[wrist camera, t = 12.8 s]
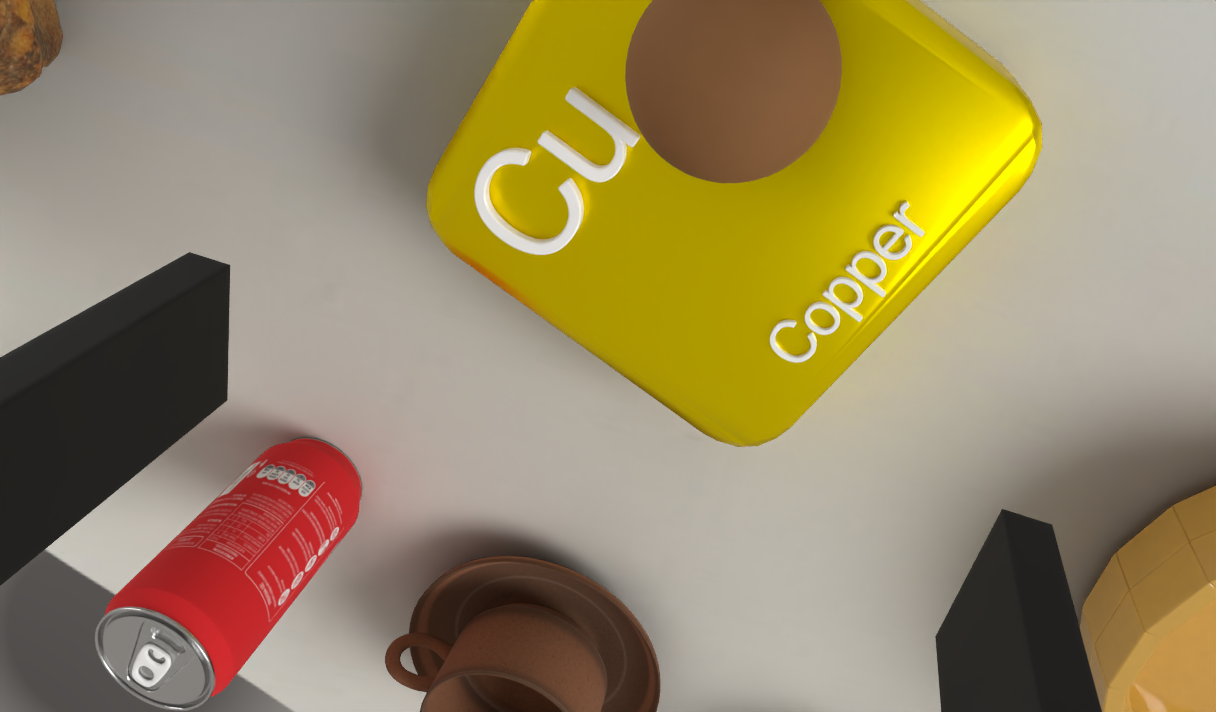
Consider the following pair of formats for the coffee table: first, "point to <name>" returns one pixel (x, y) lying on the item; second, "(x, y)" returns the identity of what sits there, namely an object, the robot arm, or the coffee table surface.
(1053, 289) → the coffee table surface
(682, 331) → the element tile
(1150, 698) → the ochre bowl
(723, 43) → the plush bear
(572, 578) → the cup and saucer
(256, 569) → the beverage can
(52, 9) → the rough brown rock
